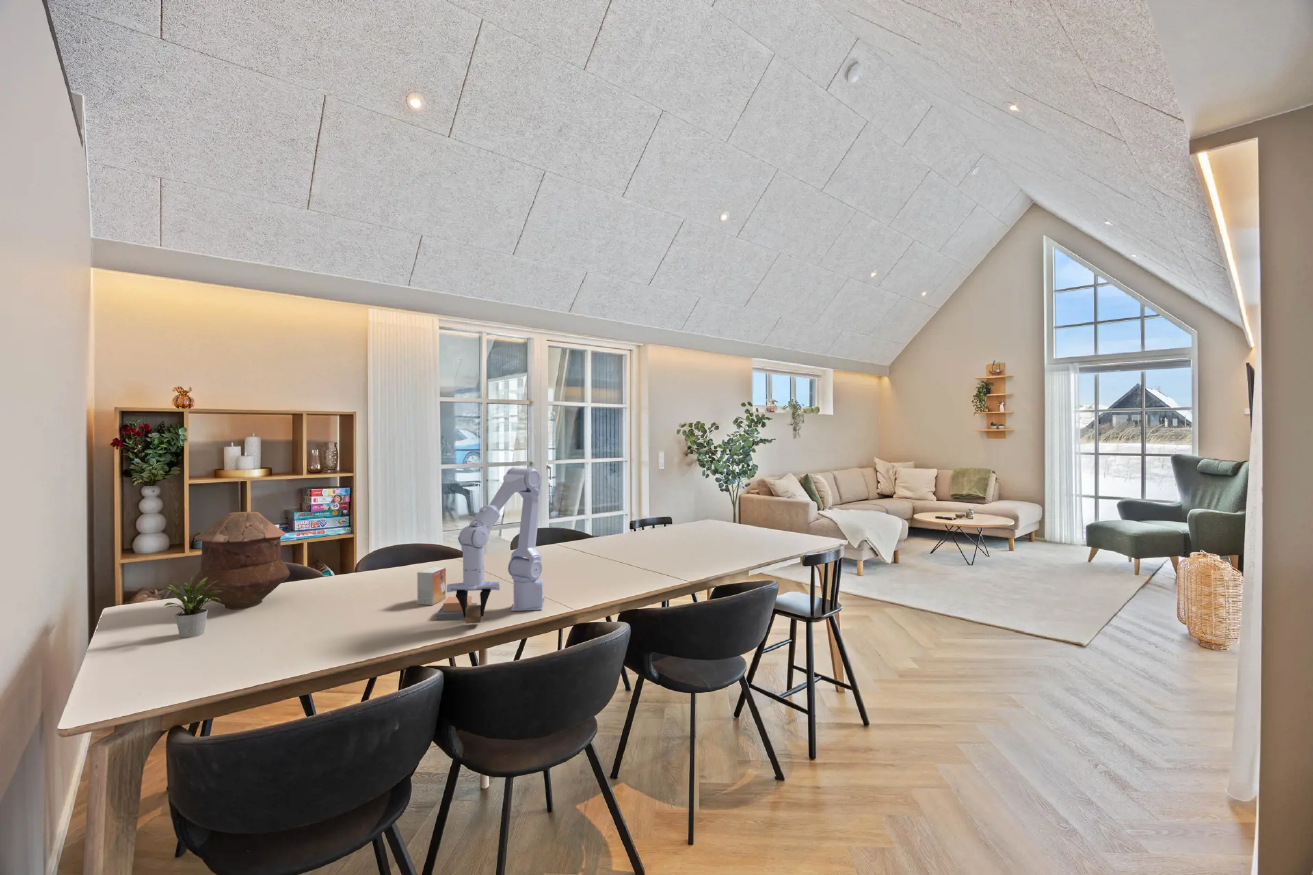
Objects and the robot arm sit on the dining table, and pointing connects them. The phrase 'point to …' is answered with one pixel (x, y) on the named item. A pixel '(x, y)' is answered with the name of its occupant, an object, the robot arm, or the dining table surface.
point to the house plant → (192, 609)
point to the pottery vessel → (241, 559)
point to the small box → (431, 585)
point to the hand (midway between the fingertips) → (474, 615)
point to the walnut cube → (473, 614)
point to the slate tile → (450, 614)
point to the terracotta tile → (454, 604)
